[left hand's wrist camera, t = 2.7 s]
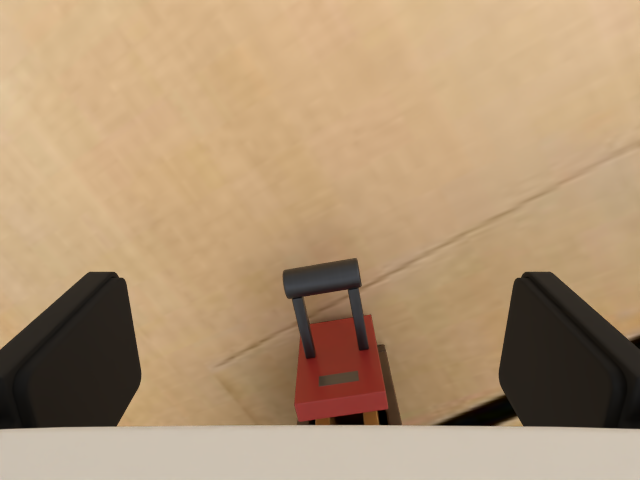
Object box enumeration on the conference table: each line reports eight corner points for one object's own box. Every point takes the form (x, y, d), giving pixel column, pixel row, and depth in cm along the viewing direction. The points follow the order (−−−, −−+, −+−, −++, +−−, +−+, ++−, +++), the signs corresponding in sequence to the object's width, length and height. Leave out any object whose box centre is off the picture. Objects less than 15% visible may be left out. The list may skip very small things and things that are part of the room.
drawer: (283, 248, 29) (269, 308, 21) (357, 235, 28) (369, 292, 21) (337, 482, 36) (341, 588, 28) (397, 474, 35) (416, 579, 28)
